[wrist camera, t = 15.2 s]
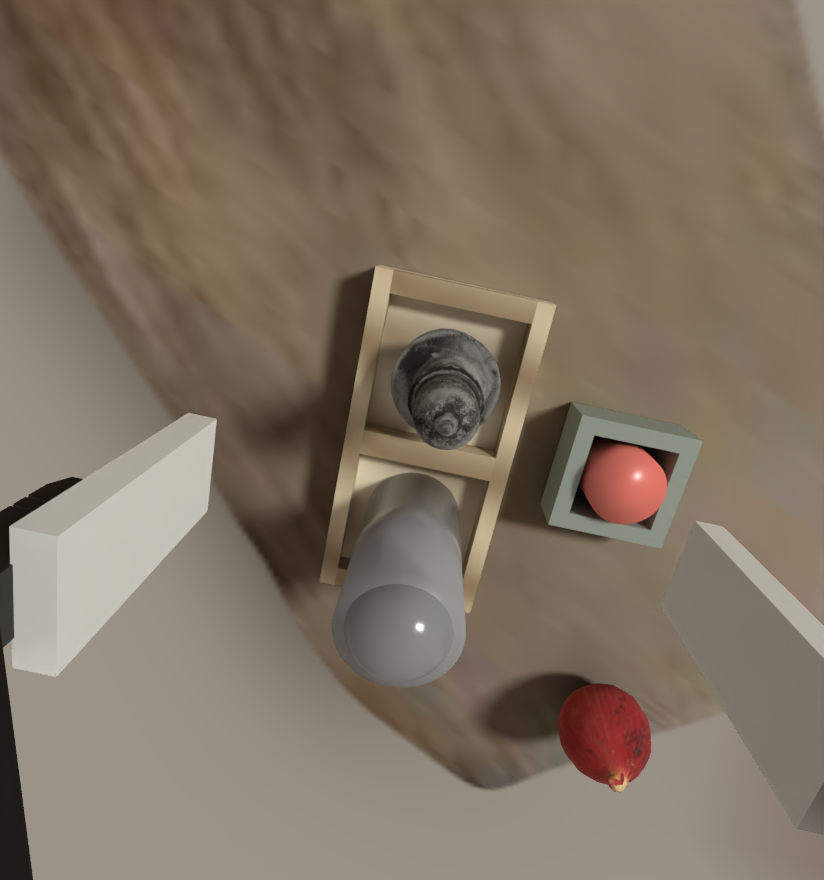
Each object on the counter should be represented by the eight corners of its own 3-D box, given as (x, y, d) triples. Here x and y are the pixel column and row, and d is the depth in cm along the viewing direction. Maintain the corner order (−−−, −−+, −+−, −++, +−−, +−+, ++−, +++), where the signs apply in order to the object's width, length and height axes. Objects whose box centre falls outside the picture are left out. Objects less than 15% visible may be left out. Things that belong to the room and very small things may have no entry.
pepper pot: (375, 463, 36) (335, 583, 23) (468, 483, 36) (482, 613, 23) (358, 546, 38) (313, 701, 25) (447, 565, 38) (449, 729, 25)
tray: (380, 265, 33) (375, 265, 31) (548, 301, 33) (556, 305, 31) (326, 562, 40) (319, 581, 37) (468, 591, 40) (469, 613, 37)
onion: (607, 644, 40) (644, 735, 33) (645, 701, 42) (690, 801, 34) (535, 680, 42) (555, 775, 34) (574, 734, 43) (602, 837, 35)
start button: (588, 429, 35) (601, 445, 32) (659, 445, 35) (678, 462, 32) (567, 495, 36) (578, 515, 33) (635, 509, 36) (652, 531, 33)
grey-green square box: (571, 401, 35) (582, 414, 32) (682, 425, 35) (703, 440, 32) (540, 504, 37) (548, 524, 35) (644, 526, 37) (661, 548, 35)
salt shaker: (483, 428, 35) (504, 511, 23) (388, 412, 35) (362, 486, 23) (504, 332, 33) (537, 371, 22) (404, 314, 33) (384, 343, 22)
